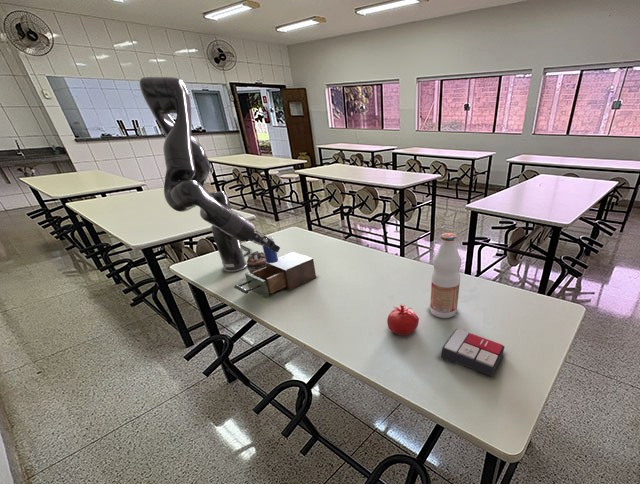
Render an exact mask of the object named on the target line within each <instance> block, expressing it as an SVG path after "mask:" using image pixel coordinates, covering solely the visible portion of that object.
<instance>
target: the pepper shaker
mask: <svg viewBox="0 0 640 484" xmlns="http://www.w3.org/2000/svg"><path fill="white" fill-rule="evenodd" d="M266 236H267V235H266ZM267 237H268V238H269V239H270V240H272V241H274V242H275V239H274V237H273V236H271V235H268V236H267ZM261 247H262V251H263V253H264V255H265V259H266V262H267V263H275V262H277V261H278V252H275V251H274V250H272V249H270V248H268V247H266V246H261Z"/></svg>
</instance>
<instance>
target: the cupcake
mask: <svg viewBox="0 0 640 484" xmlns="http://www.w3.org/2000/svg"><path fill="white" fill-rule="evenodd" d="M246 265H247V266H246V269H247V270H248V273H250V274H252V275H253V273H252V272H254V271H257V270H259V269H262V268H264V267H266V259H265V255H264V251H263V252H262V251H261V252H260V251H259V250H256V251H253V252H250V253H249V254H248V255H247V261H246Z"/></svg>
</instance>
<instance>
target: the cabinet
mask: <svg viewBox="0 0 640 484" xmlns="http://www.w3.org/2000/svg"><path fill="white" fill-rule="evenodd" d="M267 266H271V267H274V268H276V269H279V270H281V271H284V273H285V277H286V282H287V287H284V288H283V289H285V290H287V291H291V290H294V289H295V288H298V287H299V286H302V285H304V284H306V283H308V282H310V281H312V280H314V279H316V278H317V275H316V274H317V273H316V268H315V267H316V266H315V261H314V258H313V257H310V256H308V255H304V254H301V253H298V252H295V251H292V252H289V253H286V254H284V255H281V256H279V257H278V261H277V262H275V263H267V262H266V267H267Z"/></svg>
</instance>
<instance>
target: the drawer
mask: <svg viewBox="0 0 640 484" xmlns="http://www.w3.org/2000/svg"><path fill="white" fill-rule="evenodd" d="M252 273H253V275H252V274H250V272H249V271H247V272H245V273H244V276H245V280H246V282H243V283H240V284H239V285H238V284H235V285H234V287H233V288H234V289H236V290H237V291H239V292H241V293H243V294H246V295H248V294H249V292H254V293H256V294H258V295H260V296H262V297H264V298H266V299H267V298H270V294H274V293H276V292H278V291H280V290H282V289H285V288H284V287H287V282H286V277H285V273H284V271H281V270H279V269H276V268H274V267H271V266H267V267H264V268H262V269H259V270H257V271H254V272H252ZM246 285H247V287H248V289H246V288H244V287H243V286H246Z"/></svg>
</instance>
